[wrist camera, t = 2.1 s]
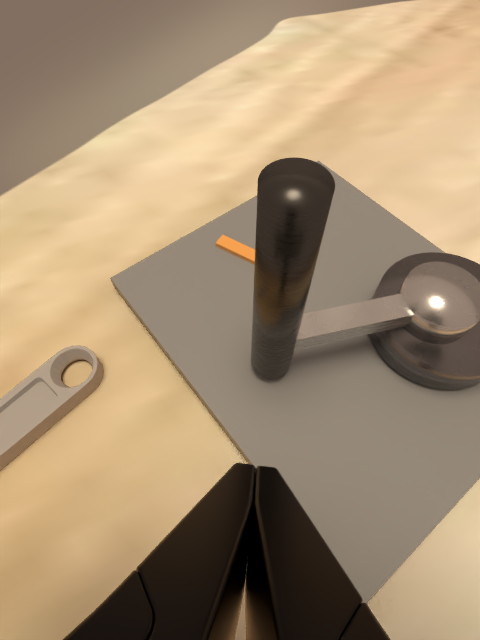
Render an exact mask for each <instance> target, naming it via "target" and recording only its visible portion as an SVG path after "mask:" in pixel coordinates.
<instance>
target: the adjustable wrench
mask: <svg viewBox="0 0 480 640" xmlns="http://www.w3.org/2000/svg"><path fill="white" fill-rule="evenodd" d="M77 360H87V361H88V362H89V363H90V364H91V365H92V369H93V370H92V372H91V374H90V376H89V377H88V378H87V379H86V381H84V382H83V383H81V384H80V385H78V386H75V387H72V388H71V387H67V386H66V385H64V384H63V382H62V381H61V375H62V373H63V371H64V369H65V368H66V367H67V366H68V365H69V364H70V363H72V362H74V361H77ZM102 378H103V366H102V364H101V362H100V361H99V359H98V358H97V357H96V355H95V354H94V352H93V351H92V350H90V349H89V348H87V347H84V346H80V345H79V346H70V347H67V348H64V349H62V350H61V351H59V352H58V353H56V354H55V355H54V356H53V357H51V358H50V359H49V360H48V361H46V362H45V363H44V364H43V365H41V366H40V367H39V368H38V369H36V370H35V371H34V372H33V373H32V374H30V375H29V376H28V377H27V378H25V379H24V380H23V381H22V382H20V383H19V384H18V385H17V386H15V387H14V388H13V389H12V390H11V391H9V392H8V393H7V394H6V395H4V396H3V397H2V398H1V399H0V471H1V470H2V469H3V468H4V467H5V466H7V465H8V464H9V463H10V462H11V461H12V460H14V459H15V458H16V457H17V456H18V455H19V454H21V453H22V452H23V451H24V450H25V449H26V448H28V447H29V446H30V445H31V444H32V443H34V442H35V441H36V440H37V439H38V438H39V437H41V436H42V435H43V434H44V433H45V432H46V431H48V430H49V429H50V428H51V427H52V426H53V425H55V424H56V423H57V422H58V421H59V420H60V419H62V418H63V417H64V416H65V415H66V414H68V413H69V412H70V411H71V410H72V409H73V408H75V407H76V406H77V405H78V404H79V403H80V402H82V401H83V400H84V399H85V398H86V397H87V396H89V395H90V394H91V393H92V392H93V391H94V390H95V389H96V388H97V387H98V386H99V385H100V382H101V380H102Z"/></svg>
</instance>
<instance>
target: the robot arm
mask: <svg viewBox="0 0 480 640" xmlns="http://www.w3.org/2000/svg"><path fill="white" fill-rule="evenodd" d="M255 470H256V472H255ZM247 558H248V559H247ZM246 568H247V571H246ZM245 578H246V586H245ZM244 587H245V611H246V640H390V638H389V637H388V635H387V634H386V632H385V631H384V630H383V628H382V627H381V625H380V624H379V622H378V621H377V619H376V618H375V616H374V615H373V613H372V612H371V610H370V609H369V607H368V605H367V604H366V603H363V598H362V597H361V595H360V594H359V592H358V591H357V589H356V588H355V586H354V585H353V583H352V582H351V580H350V579H349V577H348V575H347V574H346V572H345V571H344V569H343V568H342V566H341V565H340V563H339V562H338V560H337V559H336V557H335V556H334V554H333V553H332V551H331V550H330V548H329V547H328V545H327V544H326V542H325V541H324V539H323V538H322V536H321V535H320V533H319V531H318V530H317V528H316V527H315V525H314V524H313V522H312V521H311V519H310V518H309V516H308V515H307V513H306V512H305V510H304V509H303V507H302V506H301V504H300V503H299V501H298V500H297V498H296V497H295V495H294V494H293V492H292V491H291V489H290V487H289V486H288V484H287V483H286V481H285V480H284V478H283V477H282V475H281V474H280V472H279V471H278V469H277V468H275V467H268V466H257V467H256V468H255V466H254V465H251V464H242V463H236V464H234V465H233V466H232V467H231V468H230V470H229V471H228V472H227V473H226V474H225V475H224V476H223V477H222V478H221V479H220V480H219V481H218V482H217V483H216V484H215V485H214V486H213V488H212V489H211V490H210V491H209V492H208V493H207V494H206V495H205V496H204V497H203V498H202V499H201V500H200V501H199V502H198V503H197V504H196V506H195V507H194V508H193V509H192V510H191V511H190V512H189V513H188V514H187V515H186V516H185V517H184V518H183V519H182V520H181V521H180V522H179V524H178V525H177V526H176V527H175V528H174V529H173V530H172V531H171V532H170V533H169V534H168V535H167V536H166V537H165V538H164V539H163V540H162V542H161V543H160V544H159V545H158V546H157V547H156V548H155V549H154V550H153V551H152V552H151V553H150V554H149V555H148V556H147V557H146V558H145V560H144V561H143V562H142V563H141V564H140V565H139V566H138V567H137V569H136V570H135V571H133V572H132V573H131V574H130V575H129V576H128V577H127V578H126V579H125V580H124V581H123V583H122V584H121V585H120V586H119V587H118V588H117V589H116V590H115V591H114V592H113V593H112V594H111V595H110V596H109V597H108V598H107V599H106V600H105V601H104V602H103V603H102V604H101V605H100V606H99V607H98V608H97V609H96V610H95V611H94V612H93V613H92V614H91V615H89V616H88V617H87V618H86V619H85V620H84V621H83V622H82V623H81V624H79V625H78V626H77V627H76V628H75V629H74V630H73V631H72V632H71V633H69V634H68V635H67V636H66V637H65V638H64V639H63V640H234V639H235V634H236V629H237V624H238V619H239V614H240V609H241V604H242V599H243V593H244Z"/></svg>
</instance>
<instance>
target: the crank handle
mask: <svg viewBox="0 0 480 640" xmlns="http://www.w3.org/2000/svg"><path fill="white" fill-rule="evenodd" d="M334 191H335V181H334V178H333V176H332V174H331V173H330V172H329V171H328V170H327V169H326V168H325V167H324V166H322V165H321V164H319V163H317V162H314V161H312V160H308V159H303V158H285V159H280V160H277V161H274V162H272V163H270V164H269V165H267V166H266V167H265V168H264V169H263V170H262V171H261V173H260V175H259V178H258V193H257V217H256V242H255V267H254V292H253V317H252V341H251V366H252V368H253V370H254V371H255V373H256V374H258V375H259V376H261V377H262V378H265V379H278V378H280V377H282V376H284V375H285V374H286V373H287V372H288V370H289V368H290V364H291V360H292V356H293V352H294V350H297V349H302V348H307V347H311V346H316V345H320V344H325V343H330V342H334V341H339V340H344V339H348V338H353V337H357V336H362V335H367V334H369V336H370V338H371V341H372V343H373V345H374V346H375V348H376V350H377V351H378V353H379V354H380V355H381V357H382V358H383V359H384V360H385V361H386V362H387V363H388V364H389V365H390V366H391V367H392V368H394V369H395V370H396V371H397V372H399V373H400V374H402V375H403V376H405V377H407V378H408V379H410V380H412V381H414V382H417V383H419V384H422V385H425V386H428V387H432V388H437V389H444V390H456V389H464V388H469V387H472V386H474V385H477V384H479V383H480V264H478V263H476V262H473V261H471V260H469V259H466V258H463V257H460V256H457V255H452V254H447V253H438V252H428V253H419V254H414V255H411V256H407V257H405V258H403V259H401V260H399V261H397V262H396V263H394V264H393V265H392V266H391V267H390V268H389V269H388V270H387V271H386V272H385V274H384V275H383V277H382V279H381V281H380V283H379V285H378V287H377V289H376V291H375V292H374V294H373V296H372V298H371V300H367V301H362V302H357V303H353V304H348V305H343V306H338V307H333V308H328V309H323V310H319V311H314V312H309V313H304V309H305V305H306V301H307V297H308V293H309V289H310V285H311V281H312V278H313V274H314V270H315V266H316V262H317V258H318V254H319V250H320V246H321V242H322V238H323V234H324V230H325V226H326V222H327V218H328V214H329V210H330V206H331V203H332V199H333V195H334ZM303 313H304V314H303Z"/></svg>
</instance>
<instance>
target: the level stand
mask: <svg viewBox="0 0 480 640" xmlns="http://www.w3.org/2000/svg"><path fill="white" fill-rule="evenodd" d="M317 163H319V164H321V165H322V166H324V167H325V168H326V169H327V170H328V171H329V172H330V173H331V174H332V176H333V178H334V181H335V191H334V195H333V199H332V203H331V206H330V210H329V214H328V218H327V222H326V226H325V230H324V234H323V238H322V242H321V246H320V250H319V254H318V258H317V262H316V266H315V270H314V274H313V278H312V281H311V285H310V289H309V293H308V297H307V301H306V305H305V309H304V313H309V312H314V311H319V310H323V309H328V308H333V307H338V306H343V305H348V304H353V303H357V302H362V301H367V300H371V298H372V296H373V294H374V292H375V291H376V289H377V287H378V285H379V283H380V281H381V279H382V277H383V275H384V274H385V272H386V271H387V270H388V269H389V268H390V267H391V266H392V265H393V264H394V263H396V262H397V261H399V260H401V259H403V258H405V257H407V256H411V255H414V254H419V253H428V252H438V253H445V252H443V251H442V250H441V249H439V248H438V247H436V246H435V245H434V244H432V243H431V242H430V241H428V240H427V239H425V238H424V237H423V236H421V235H420V234H419V233H417V232H416V231H414V230H413V229H412V228H410V227H409V226H408V225H406V224H405V223H403V222H402V221H401V220H399V219H398V218H397V217H395V216H394V215H392V214H391V213H390V212H388V211H387V210H386V209H384V208H383V207H381V206H380V205H379V204H377V203H376V202H375V201H373V200H372V199H370V198H369V197H368V196H366V195H365V194H364V193H362V192H361V191H359V190H358V189H357V188H355V187H354V186H353V185H351V184H350V183H349V182H347V181H346V180H344V179H343V178H342V177H340V176H339V175H338V174H336V173H335V172H333V171H332V170H331V169H329V168H328V167H327V166H325V165H324V164H322V163H321V162H320V161H317ZM256 217H257V196H255V197H253V198H252V199H250V200H248V201H246V202H245V203H243V204H241V205H239V206H237V207H236V208H234V209H232V210H230V211H229V212H227V213H225V214H223V215H221V216H220V217H218V218H216V219H214V220H213V221H211V222H209V223H207V224H205V225H204V226H202V227H200V228H198V229H197V230H195V231H193V232H191V233H190V234H188V235H186V236H184V237H182V238H181V239H179V240H177V241H175V242H174V243H172V244H170V245H168V246H166V247H165V248H163V249H161V250H159V251H158V252H156V253H154V254H152V255H150V256H149V257H147V258H145V259H143V260H142V261H140V262H138V263H136V264H134V265H133V266H131V267H129V268H127V269H126V270H124V271H122V272H120V273H118V274H117V275H115V276H113V277H111V278H110V279H111V281H112V283H113V285H114V287H115V289H116V290H117V291H118V293H119V294H120V295H121V297H122V298H123V299H124V301H125V302H126V303H127V304H128V306H129V307H130V308H131V310H132V311H133V312H134V314H135V315H136V316H137V318H138V319H139V320H140V322H141V323H142V324H143V325H144V327H145V328H146V329H147V331H148V332H149V333H150V335H151V336H152V337H153V339H154V340H155V341H156V343H157V344H158V345H159V346H160V348H161V349H162V350H163V352H164V353H165V354H166V356H167V357H168V358H169V360H170V361H171V362H172V364H173V365H174V366H175V367H176V369H177V370H178V371H179V373H180V374H181V375H182V377H183V378H184V379H185V381H186V382H187V383H188V385H189V386H190V387H191V388H192V390H193V391H194V392H195V394H196V395H197V396H198V398H199V399H200V400H201V402H202V403H203V404H204V406H205V407H206V408H207V409H208V411H209V412H210V413H211V415H212V416H213V417H214V419H215V420H216V421H217V423H218V424H219V425H220V427H221V428H222V429H223V430H224V432H225V433H226V434H227V436H228V437H229V438H230V440H231V441H232V442H233V444H234V445H235V446H236V448H237V449H238V450H239V451H240V453H241V454H242V455H243V457H244V458H245V459H246V461H247V462H248V463H249V464H251V465H254V466H255V468H256V467H257V466H268V467H275V468H277V469H278V471H279V472H280V474H281V475H282V477H283V478H284V480H285V481H286V483H287V484H288V486H289V487H290V489H291V491H292V492H293V494H294V495H295V497H296V498H297V500H298V501H299V503H300V504H301V506H302V507H303V509H304V510H305V512H306V513H307V515H308V516H309V518H310V519H311V521H312V522H313V524H314V525H315V527H316V528H317V530H318V531H319V533H320V535H321V536H322V538H323V539H324V541H325V542H326V544H327V545H328V547H329V548H330V550H331V551H332V553H333V554H334V556H335V557H336V559H337V560H338V562H339V563H340V565H341V566H342V568H343V569H344V571H345V572H346V574H347V575H348V577H349V579H350V580H351V582H352V583H353V585H354V586H355V588H356V589H357V591H358V592H359V594H360V595H361V597H362V598H363V603H367V602H368V601H369V600H370V599H371V598H372V597H373V596H374V595H375V593H376V592H377V591H378V590H379V589H380V588H381V587H382V586H383V585H384V583H385V582H386V581H387V580H388V579H389V578H390V577H391V576H392V575H393V573H394V572H395V571H396V570H397V569H398V568H399V567H400V566H401V565H402V564H403V562H404V561H405V560H406V559H407V558H408V557H409V556H410V555H411V554H412V552H413V551H414V550H415V549H416V548H417V547H418V546H419V545H420V544H421V542H422V541H423V540H424V539H425V538H426V537H427V536H428V535H429V534H430V532H431V531H432V530H433V529H434V528H435V527H436V526H437V525H438V524H439V523H440V521H441V520H442V519H443V518H444V517H445V516H446V515H447V514H448V513H449V511H450V510H451V509H452V508H453V507H454V506H455V505H456V504H457V503H458V501H459V500H460V499H461V498H462V497H463V496H464V495H465V494H466V493H467V492H468V490H469V489H470V488H471V487H472V486H473V485H474V484H475V483H476V482H477V480H478V479H479V478H480V383H479V384H477V385H474V386H472V387H469V388H464V389H456V390H444V389H437V388H432V387H428V386H425V385H422V384H419V383H417V382H414V381H412V380H410V379H408V378H407V377H405V376H403V375H402V374H400V373H399V372H397V371H396V370H395V369H394V368H392V367H391V366H390V365H389V364H388V363H387V362H386V361H385V360H384V359H383V358H382V357H381V355H380V354H379V353H378V351H377V350H376V348H375V346H374V345H373V343H372V341H371V338H370V336H369V334H367V335H362V336H357V337H353V338H348V339H344V340H339V341H334V342H330V343H325V344H320V345H316V346H311V347H307V348H302V349H297V350H294V352H293V356H292V360H291V364H290V368H289V370H288V372H287V373H286V374H285V375H284V376H282V377H280V378H278V379H265V378H262V377H261V376H259V375H258V374H256V373H255V371H254V370H253V368H252V366H251V341H252V317H253V292H254V267H255V242H256ZM304 313H303V314H304ZM255 472H256V470H255Z"/></svg>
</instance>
